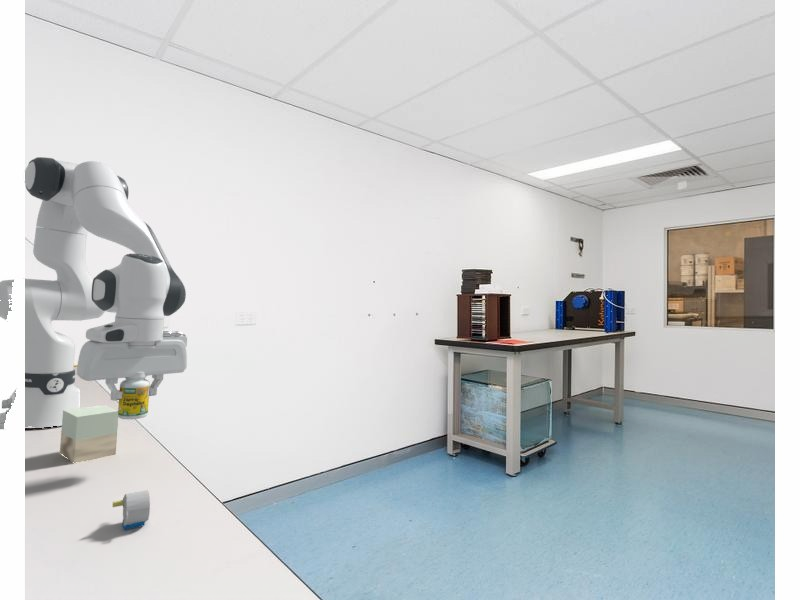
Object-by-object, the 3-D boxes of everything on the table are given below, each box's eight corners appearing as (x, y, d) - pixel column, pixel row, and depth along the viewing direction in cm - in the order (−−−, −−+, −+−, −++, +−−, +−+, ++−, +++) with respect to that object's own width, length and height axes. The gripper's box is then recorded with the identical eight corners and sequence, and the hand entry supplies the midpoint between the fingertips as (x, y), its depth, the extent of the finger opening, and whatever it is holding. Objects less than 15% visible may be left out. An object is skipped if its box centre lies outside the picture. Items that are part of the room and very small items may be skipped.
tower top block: (61, 432, 96) (63, 410, 97) (101, 425, 103) (103, 404, 103) (75, 440, 92) (77, 417, 92) (117, 433, 98) (118, 411, 99)
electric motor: (109, 520, 70) (111, 489, 70) (143, 513, 73) (145, 483, 73) (112, 540, 64) (115, 506, 64) (149, 531, 67) (151, 499, 67)
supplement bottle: (146, 412, 94) (150, 368, 94) (148, 418, 90) (152, 372, 90) (117, 414, 91) (120, 368, 91) (117, 421, 87) (121, 373, 87)
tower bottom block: (59, 455, 96) (61, 432, 96) (100, 447, 103) (101, 425, 103) (73, 464, 92) (75, 440, 92) (115, 455, 98) (117, 433, 98)
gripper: (180, 329, 101) (175, 389, 101) (76, 330, 84) (70, 401, 84) (195, 332, 97) (190, 393, 97) (89, 333, 80) (83, 408, 80)
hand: (134, 397), depth 90 cm, fingers closed on supplement bottle, 5 cm apart
